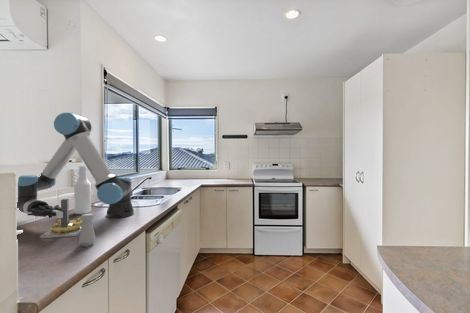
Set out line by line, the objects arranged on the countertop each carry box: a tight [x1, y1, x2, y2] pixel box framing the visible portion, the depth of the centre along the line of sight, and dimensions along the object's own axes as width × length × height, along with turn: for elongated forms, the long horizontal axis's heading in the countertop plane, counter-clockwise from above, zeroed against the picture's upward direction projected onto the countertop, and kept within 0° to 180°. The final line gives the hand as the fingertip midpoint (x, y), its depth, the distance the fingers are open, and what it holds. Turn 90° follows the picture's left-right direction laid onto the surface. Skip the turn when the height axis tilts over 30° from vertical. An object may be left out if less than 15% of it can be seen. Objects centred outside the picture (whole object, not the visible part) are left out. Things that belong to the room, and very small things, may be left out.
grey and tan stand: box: [50, 198, 83, 232], centre depth 110 cm, size 13×13×15 cm
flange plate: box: [39, 228, 81, 239], centre depth 110 cm, size 14×18×2 cm
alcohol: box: [73, 164, 92, 215], centre depth 142 cm, size 9×9×30 cm
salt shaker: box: [78, 212, 96, 248], centre depth 94 cm, size 6×6×13 cm
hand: (61, 215), depth 103 cm, fingers closed
